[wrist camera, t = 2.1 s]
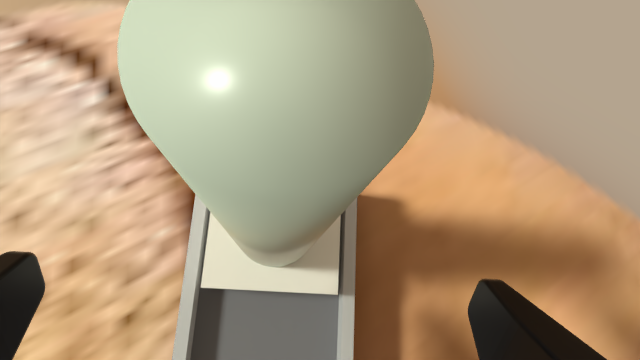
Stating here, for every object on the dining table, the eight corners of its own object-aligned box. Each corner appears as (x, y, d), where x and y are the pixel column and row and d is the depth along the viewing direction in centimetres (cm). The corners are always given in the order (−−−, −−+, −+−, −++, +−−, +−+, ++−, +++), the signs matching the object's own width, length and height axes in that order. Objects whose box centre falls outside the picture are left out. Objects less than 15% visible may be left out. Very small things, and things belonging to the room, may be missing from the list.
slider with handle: (330, 294, 17) (547, 314, 4) (209, 287, 16) (-75, 283, 3) (335, 183, 18) (504, -103, 5) (223, 174, 18) (70, -172, 4)
